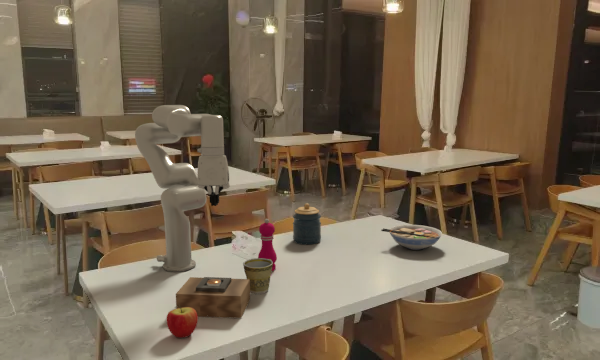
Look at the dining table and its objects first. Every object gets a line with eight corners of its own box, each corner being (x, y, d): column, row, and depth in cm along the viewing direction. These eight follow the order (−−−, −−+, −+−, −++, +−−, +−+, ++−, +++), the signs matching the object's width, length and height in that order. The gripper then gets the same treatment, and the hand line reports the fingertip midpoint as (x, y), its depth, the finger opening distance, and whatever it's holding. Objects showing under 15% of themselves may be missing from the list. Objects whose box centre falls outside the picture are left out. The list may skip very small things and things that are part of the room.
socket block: (176, 315, 151) (175, 290, 150) (191, 297, 165) (190, 273, 163) (241, 318, 149) (240, 292, 148) (250, 299, 163) (249, 275, 162)
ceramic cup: (261, 298, 164) (261, 269, 162) (237, 292, 169) (237, 264, 167) (283, 286, 174) (283, 258, 173) (260, 280, 180) (260, 254, 178)
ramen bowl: (450, 245, 221) (451, 227, 219) (434, 259, 202) (435, 240, 200) (397, 237, 234) (397, 220, 233) (377, 249, 215) (378, 231, 214)
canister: (295, 236, 236) (294, 200, 233) (322, 237, 234) (322, 200, 231) (290, 244, 223) (290, 206, 220) (319, 245, 221) (319, 207, 218)
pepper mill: (274, 273, 187) (273, 221, 184) (255, 271, 189) (254, 220, 185) (278, 266, 194) (278, 217, 191) (261, 265, 195) (260, 216, 192)
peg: (206, 308, 155) (205, 283, 154) (209, 302, 159) (209, 278, 158) (219, 308, 155) (219, 284, 153) (223, 303, 159) (222, 279, 158)
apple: (161, 339, 136) (159, 305, 135) (179, 326, 144) (177, 293, 142) (186, 344, 133) (185, 309, 132) (203, 331, 141) (202, 297, 140)
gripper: (187, 153, 164) (190, 207, 167) (232, 153, 163) (233, 207, 166) (194, 150, 172) (196, 202, 175) (237, 150, 170) (238, 203, 173)
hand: (214, 205), depth 170 cm, fingers closed
